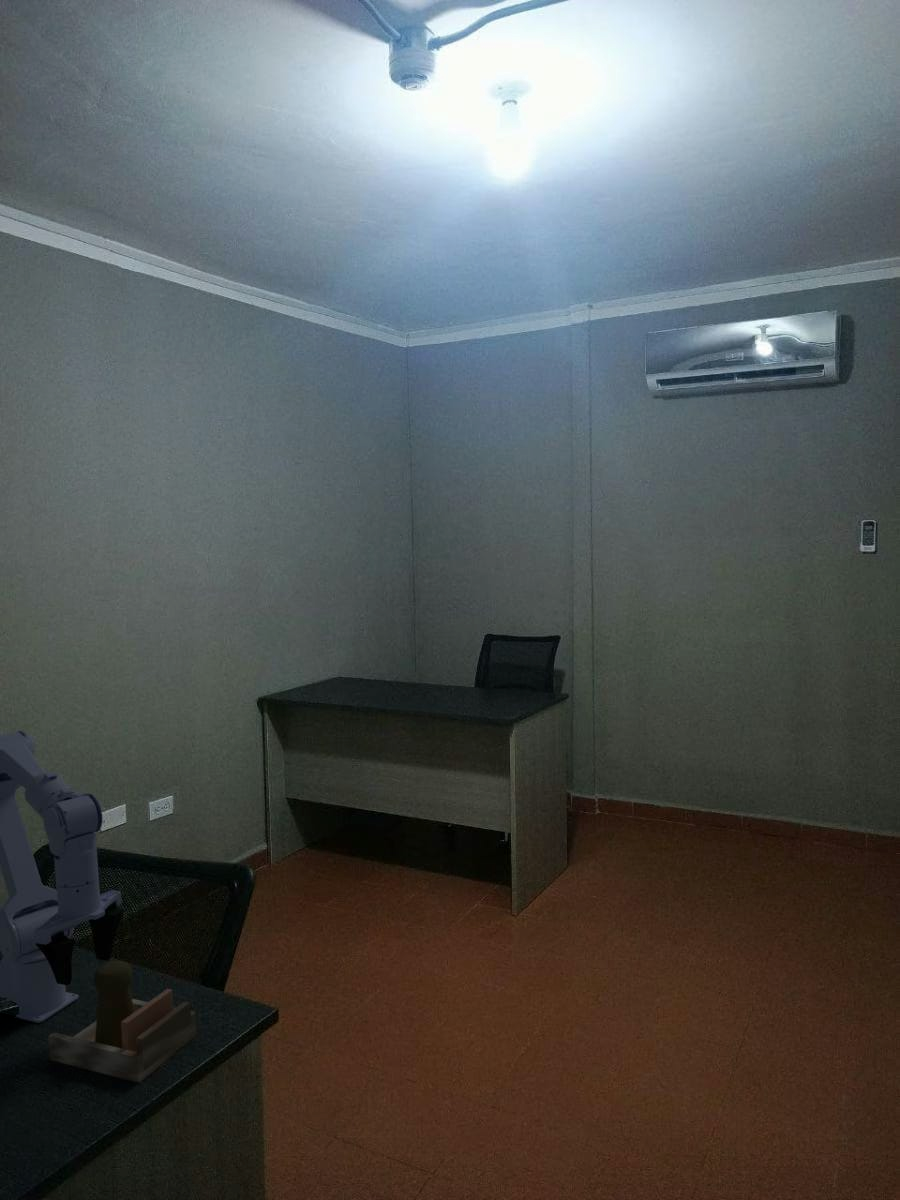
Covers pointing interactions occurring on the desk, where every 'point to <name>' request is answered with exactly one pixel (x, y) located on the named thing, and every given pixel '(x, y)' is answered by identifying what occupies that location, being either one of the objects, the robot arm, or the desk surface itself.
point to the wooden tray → (122, 1062)
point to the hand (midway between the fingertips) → (84, 970)
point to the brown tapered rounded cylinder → (112, 1001)
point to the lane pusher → (145, 1018)
